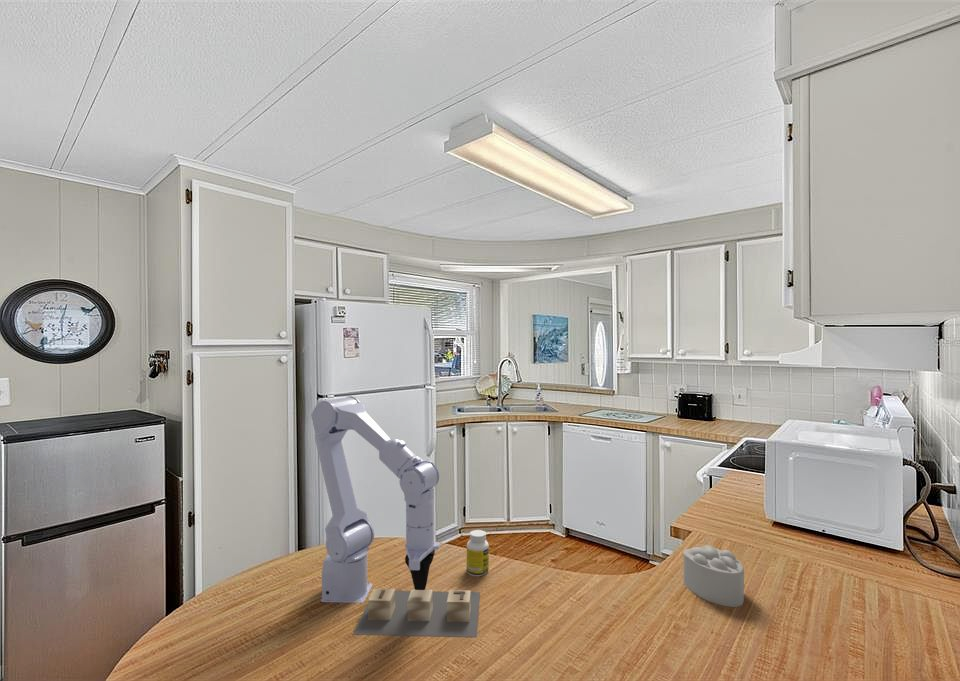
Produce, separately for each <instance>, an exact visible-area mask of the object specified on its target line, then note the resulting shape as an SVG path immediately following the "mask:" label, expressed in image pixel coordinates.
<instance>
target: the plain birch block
mask: <svg viewBox="0 0 960 681" xmlns="http://www.w3.org/2000/svg"><path fill="white" fill-rule="evenodd" d="M433 590H434V589H425V590H415V588H414V589H413V588H412V589H411V590H410V591H411V592H410V595H409V598H408V601H407V615H408V621H430V618H431V614H432V610H433Z"/></svg>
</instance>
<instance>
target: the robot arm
mask: <svg viewBox="0 0 960 681" xmlns="http://www.w3.org/2000/svg"><path fill="white" fill-rule="evenodd" d="M310 416H311V421H312V426H313V429H314V439H315V444H316V449H317V453H318V458H319V462H320V465H321V466H320V467H321V471H322V476H323V480H324V484H325V489H326V493H327V496H328V497H327V498H328V501H329V505H330V511H331V514H332V516H331V518H330V520H329V521H328V523H327V524H326V527H325V528H324V531H325V534H326V540H325V549H326V553H327V555H326V556H325V558H324V560H323V563H322V569H321V600H320V602H322V603H350V604H351V603H352V604H353V603H359V604H361V603H365V600H366V599H367V596H368V595H369V592H370V590H371V589H372V587H373V583H368V552H369V551H370V546H371V544H372V543H373V542H374V539H375V531H374V528H373V525H372V524H371V522H370V521H369V518H368V515H367V512H365V511H363V510H362V509H360V508H358V506H357V503H356V502H357V501H356V498H355V494H354V489H353V485H352V481H351V477H350V473H349V468H348V463H347V459H346V456H345V455H346V454H345V451H344V448H343V443H342V440H343V439H344V437H345V435H346V433H347V432H348V431H349V430H350V431H351V430H352V431H355V433H357V434H358V435H359V436H361V437H362V438H363V439H364V440H365V441H367V443H369V444H370V445H371V446H372V447H374V448H375V449H376V450H378V458H379V461H381V463H383V464H384V465H385V467H387V468H388V470H390V472H392V473H393V474H394V475H395V477H397V479H399V486H400V489H401V491H402V492H403V495H404V502H405V544H404V547H405V548H404V549H405V552H406V555H405V557H404V561H405V564H406V566H407V567H408V570H409V573H410V576H411V579H412V583H413V587H414V589H415V590H426V586H427V584H428V580H429V578H428V577H429V572H430V566H431V565H432V562H433V560H434V556H435V553H436V550H439V549H440V547H441V542H439V541H435V515H434V514H435V489H434V488H435V487H436V486H437V485H438V483H439V479H440V474H439V473H440V472H439V470H438V468H437V467H436V465H435V464H434V462H433V461H431V460H425V459H422V458H421V457H420V456H417V454H415V453H414V452H413V451H412V450H411V449H410V448H409V447H408V446H407V443H406V441H404V440H403V439H402V440H400V439H398V438H393V439H391V438H390V437H389V435H388V434H387V433H386V432H385V431H384V430H383V429H382V428H381V426H380V425H378V423H377V422H376V421H375V420H374V419H373V417H371V416H370V415H369V414H368V412H367V411H366V406H365V404H363V403H362V402H360V400H359V398H357V397H356V396H353V395H350V396H346V397H341V398H334V399H328V400H326V399H325V400H321V401H319V402H317V404H316V405H315V406H314V408H313V410H312V413H311V414H310Z"/></svg>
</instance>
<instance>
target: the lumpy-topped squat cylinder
mask: <svg viewBox="0 0 960 681" xmlns="http://www.w3.org/2000/svg"><path fill="white" fill-rule="evenodd" d="M682 554H683V555H682V556H683V558H682V559H683V564H682V565H683V568H682V569H683V571H682V573H683V576H682V577H683V578H682V580H683V581H682V582H683V584H684V586H685V587H687V589H688V590H690V591H691V592H692V593H693V594H695V595H697V597H699V598H701V599H703V600H704V601H706V602H711V603H713V604H715V605H719V606H723V607H730V608H738V607H740V606H742V605H743V604H744V600H745V595H744V594H745V569H744V566H743V564H742V562H741V561H740V560H738V559H737V558H736V556H735V554H734V553H733V552H732V551H731V550H729V549H724V550H722V549H720V548H717V547H714V546H712V545H710V544H709V545H708V544H706V545H703V546H695V547H694V546H693V547H692V548H686V549H684V550H683V553H682Z"/></svg>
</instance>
